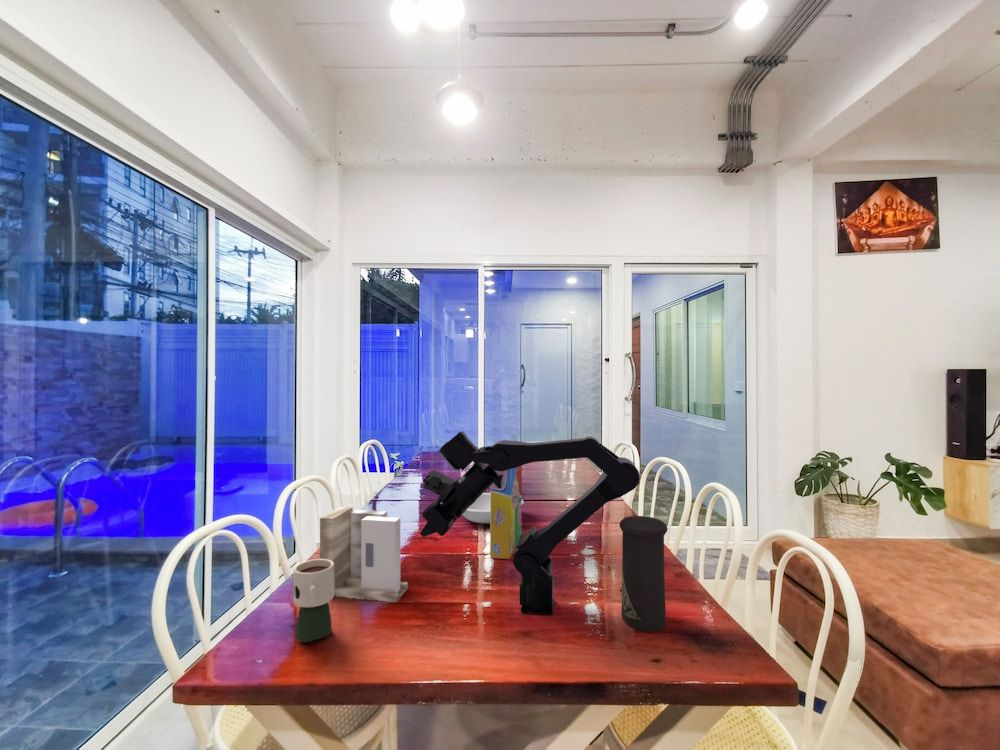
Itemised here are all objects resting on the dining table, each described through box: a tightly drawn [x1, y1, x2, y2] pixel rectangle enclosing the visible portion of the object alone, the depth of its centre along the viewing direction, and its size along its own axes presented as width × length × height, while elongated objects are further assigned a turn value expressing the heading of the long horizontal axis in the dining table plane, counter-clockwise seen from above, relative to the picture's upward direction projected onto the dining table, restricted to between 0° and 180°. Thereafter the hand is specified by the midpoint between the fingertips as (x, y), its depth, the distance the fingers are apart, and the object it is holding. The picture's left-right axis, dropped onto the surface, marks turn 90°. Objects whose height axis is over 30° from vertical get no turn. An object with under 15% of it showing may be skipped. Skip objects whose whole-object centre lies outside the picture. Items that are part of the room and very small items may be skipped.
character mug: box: [292, 558, 335, 643], centre depth 85 cm, size 11×7×13 cm, turn 20°
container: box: [619, 515, 668, 632], centre depth 90 cm, size 9×9×20 cm
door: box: [361, 516, 401, 593], centre depth 102 cm, size 8×3×16 cm, turn 80°
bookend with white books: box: [319, 506, 409, 603], centre depth 104 cm, size 18×10×17 cm, turn 80°
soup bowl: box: [461, 492, 524, 525], centre depth 155 cm, size 24×24×7 cm
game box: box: [489, 465, 523, 560], centre depth 131 cm, size 21×6×27 cm, turn 168°
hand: (422, 534), depth 100 cm, fingers closed
